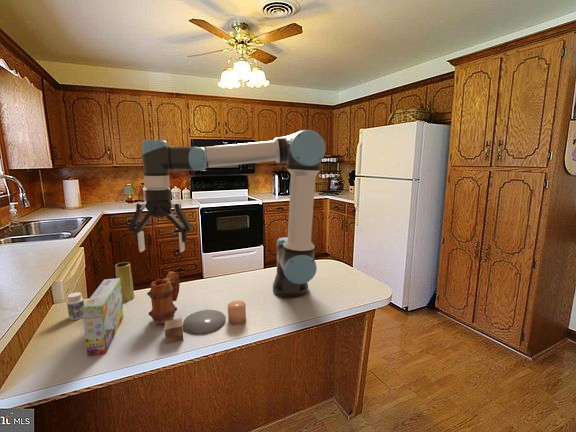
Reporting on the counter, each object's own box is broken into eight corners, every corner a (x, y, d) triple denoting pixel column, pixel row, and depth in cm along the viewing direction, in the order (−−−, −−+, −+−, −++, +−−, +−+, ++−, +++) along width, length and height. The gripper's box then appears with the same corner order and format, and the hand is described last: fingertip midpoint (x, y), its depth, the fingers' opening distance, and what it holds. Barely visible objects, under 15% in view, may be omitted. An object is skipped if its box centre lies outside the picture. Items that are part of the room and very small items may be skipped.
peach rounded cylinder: (246, 316, 107) (246, 300, 106) (244, 325, 101) (244, 309, 100) (230, 316, 107) (229, 300, 106) (226, 325, 101) (226, 309, 100)
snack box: (108, 353, 87) (102, 305, 84) (86, 357, 85) (79, 308, 82) (125, 316, 107) (120, 276, 104) (107, 319, 105) (102, 278, 102)
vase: (118, 303, 116) (114, 268, 113) (117, 297, 121) (113, 263, 119) (135, 299, 119) (132, 265, 117) (133, 293, 125) (130, 260, 122)
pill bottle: (75, 321, 104) (72, 298, 102) (66, 318, 105) (62, 296, 104) (88, 314, 108) (85, 292, 106) (79, 312, 110) (76, 290, 108)
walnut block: (183, 332, 97) (182, 318, 96) (183, 340, 93) (182, 326, 92) (166, 335, 96) (165, 321, 95) (166, 344, 91) (164, 329, 90)
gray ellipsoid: (228, 311, 110) (228, 309, 110) (220, 333, 96) (220, 331, 96) (190, 311, 110) (190, 309, 110) (177, 334, 96) (176, 331, 96)
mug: (166, 328, 99) (162, 286, 96) (144, 326, 101) (140, 284, 98) (189, 307, 113) (186, 269, 110) (169, 305, 115) (166, 268, 112)
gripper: (199, 187, 102) (202, 247, 106) (125, 187, 102) (130, 247, 106) (192, 190, 95) (195, 254, 99) (112, 189, 94) (119, 254, 98)
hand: (162, 251), depth 102 cm, fingers open, 13 cm apart
